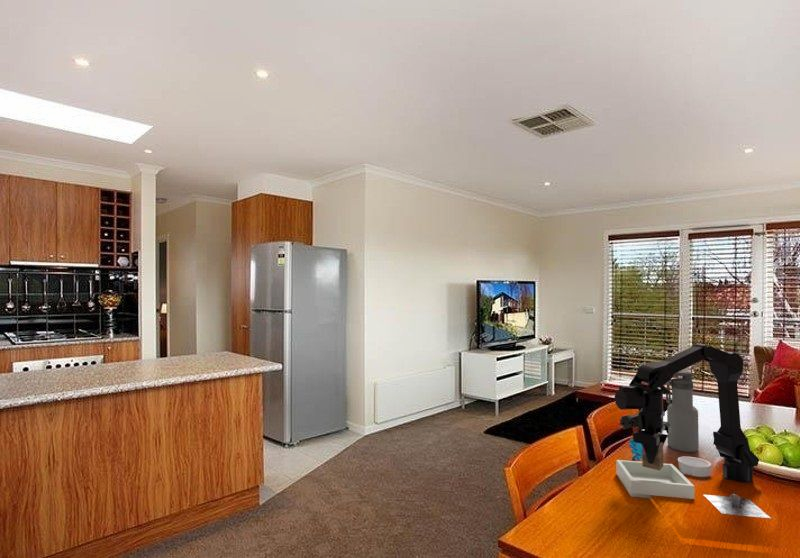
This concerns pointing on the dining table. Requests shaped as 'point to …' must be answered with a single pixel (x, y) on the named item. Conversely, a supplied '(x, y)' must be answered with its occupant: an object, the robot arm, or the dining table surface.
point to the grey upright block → (657, 462)
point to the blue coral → (636, 449)
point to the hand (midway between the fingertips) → (652, 461)
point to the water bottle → (682, 414)
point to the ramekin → (694, 466)
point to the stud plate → (735, 510)
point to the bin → (653, 480)
